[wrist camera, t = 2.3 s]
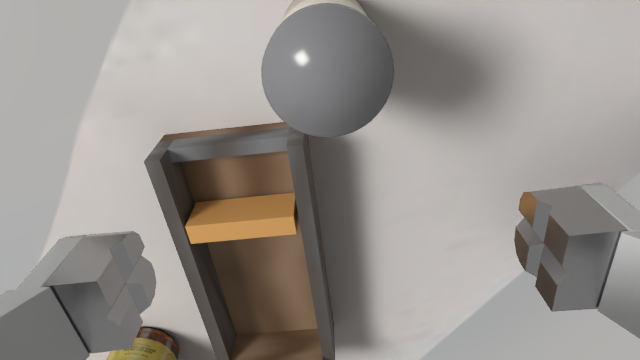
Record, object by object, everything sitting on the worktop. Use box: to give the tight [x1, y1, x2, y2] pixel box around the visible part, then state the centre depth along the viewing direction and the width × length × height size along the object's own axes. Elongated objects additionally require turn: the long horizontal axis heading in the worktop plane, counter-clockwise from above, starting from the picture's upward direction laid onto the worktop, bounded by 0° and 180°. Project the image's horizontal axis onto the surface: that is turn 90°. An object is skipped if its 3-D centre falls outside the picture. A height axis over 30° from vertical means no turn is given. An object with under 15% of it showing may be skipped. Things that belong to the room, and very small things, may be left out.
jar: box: [262, 0, 394, 137], centre depth 22 cm, size 6×6×9 cm
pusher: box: [185, 193, 298, 244], centre depth 30 cm, size 7×2×3 cm, turn 96°
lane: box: [144, 122, 335, 360], centre depth 32 cm, size 10×21×6 cm, turn 6°
